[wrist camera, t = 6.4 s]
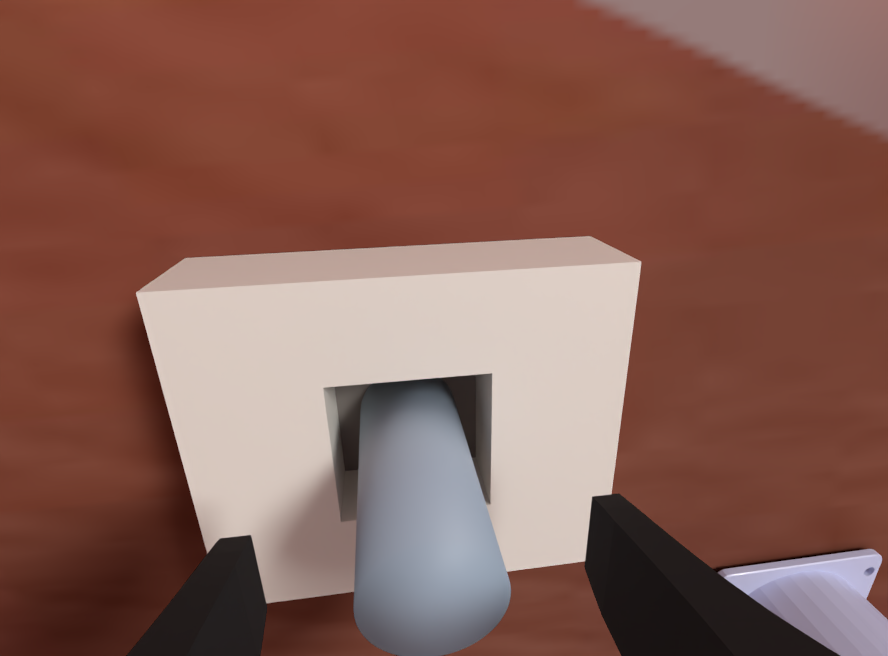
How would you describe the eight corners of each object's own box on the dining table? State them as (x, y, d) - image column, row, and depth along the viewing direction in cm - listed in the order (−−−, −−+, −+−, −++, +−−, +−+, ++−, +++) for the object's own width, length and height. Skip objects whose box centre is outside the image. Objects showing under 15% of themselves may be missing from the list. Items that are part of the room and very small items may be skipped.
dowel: (456, 442, 17) (511, 643, 10) (366, 454, 16) (363, 669, 10) (452, 362, 15) (510, 530, 9) (354, 373, 15) (343, 557, 9)
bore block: (567, 492, 19) (603, 558, 16) (247, 529, 18) (222, 609, 15) (590, 236, 15) (641, 261, 12) (185, 258, 14) (136, 292, 11)
